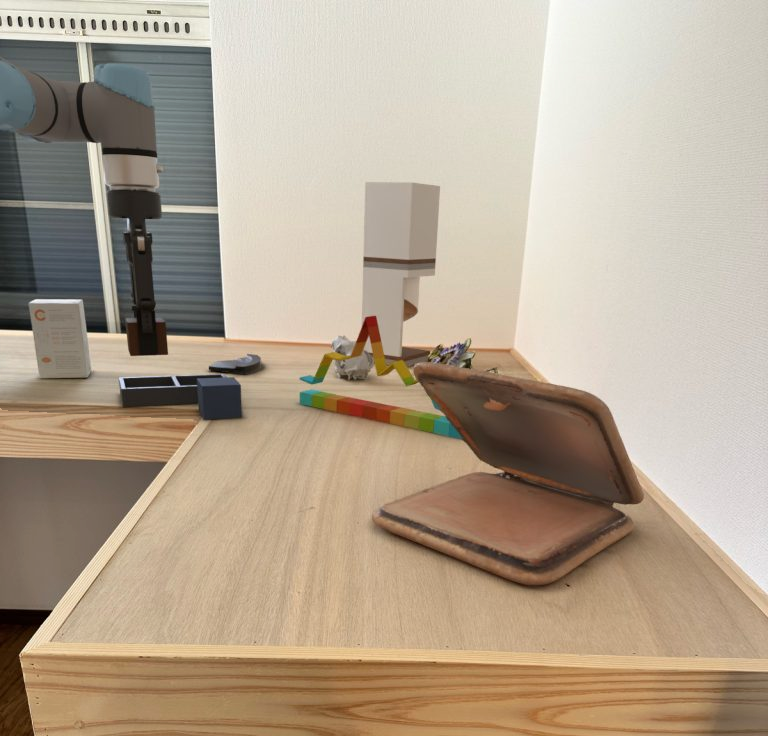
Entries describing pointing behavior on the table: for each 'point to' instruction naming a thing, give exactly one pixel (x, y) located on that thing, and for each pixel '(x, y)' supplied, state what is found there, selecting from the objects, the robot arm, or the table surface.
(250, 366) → the curved wedge
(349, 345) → the crumpled paper
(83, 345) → the small box
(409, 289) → the notched striped pillar
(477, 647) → the table surface
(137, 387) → the holder
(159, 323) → the brown rectangular block
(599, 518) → the case
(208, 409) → the pad
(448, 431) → the multicoloured zigzag triangular frame
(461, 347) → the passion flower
